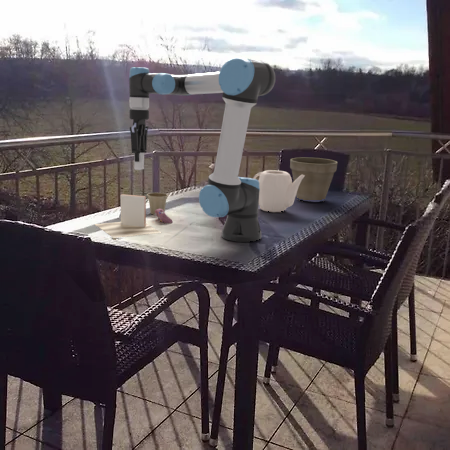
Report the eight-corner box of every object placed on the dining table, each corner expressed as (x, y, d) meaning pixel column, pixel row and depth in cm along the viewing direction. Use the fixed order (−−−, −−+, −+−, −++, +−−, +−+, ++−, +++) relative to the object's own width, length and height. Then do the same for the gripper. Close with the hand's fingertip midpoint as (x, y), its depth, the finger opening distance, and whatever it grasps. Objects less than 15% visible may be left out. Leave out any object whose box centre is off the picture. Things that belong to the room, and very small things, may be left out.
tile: (145, 225, 203) (145, 196, 200) (144, 226, 201) (144, 197, 198) (122, 223, 205) (122, 194, 202) (120, 224, 203) (120, 194, 201)
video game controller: (158, 223, 218) (151, 209, 215) (168, 218, 219) (161, 204, 216) (164, 229, 209) (156, 214, 206) (174, 223, 210) (166, 209, 207)
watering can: (296, 217, 232) (299, 176, 228) (243, 209, 244) (245, 170, 240) (307, 211, 246) (310, 172, 241) (256, 204, 258) (259, 167, 253)
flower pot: (164, 216, 224) (164, 197, 221) (143, 214, 225) (143, 195, 223) (170, 212, 233) (170, 193, 230) (151, 210, 234) (151, 192, 232)
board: (161, 234, 194) (161, 232, 194) (113, 240, 184) (113, 237, 184) (139, 221, 212) (139, 220, 212) (94, 226, 202) (94, 224, 202)
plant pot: (323, 207, 259) (327, 164, 254) (279, 200, 271) (282, 159, 266) (340, 200, 280) (344, 160, 274) (298, 194, 292) (301, 156, 287)
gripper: (137, 108, 206) (137, 166, 212) (122, 108, 192) (122, 171, 197) (155, 109, 204) (154, 167, 210) (140, 109, 190) (140, 172, 196)
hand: (139, 169), depth 204 cm, fingers open, 2 cm apart
